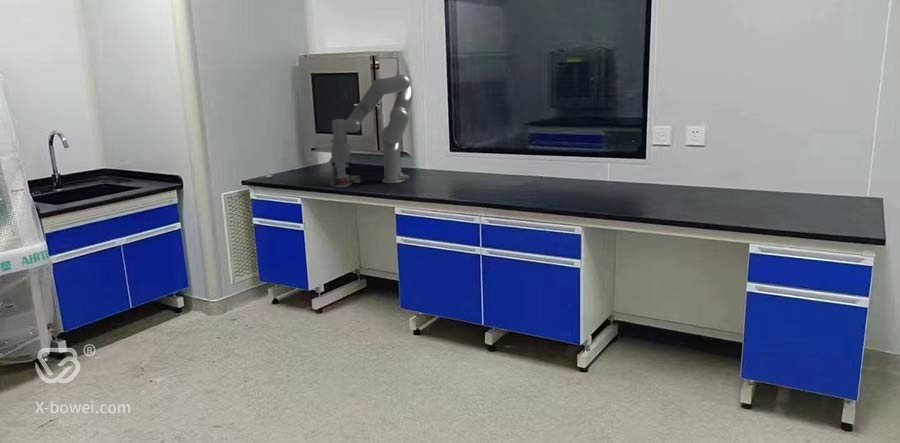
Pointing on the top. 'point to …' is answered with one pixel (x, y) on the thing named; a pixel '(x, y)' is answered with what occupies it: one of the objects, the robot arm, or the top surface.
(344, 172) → the ink box
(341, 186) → the pad
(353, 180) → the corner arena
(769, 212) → the top surface
